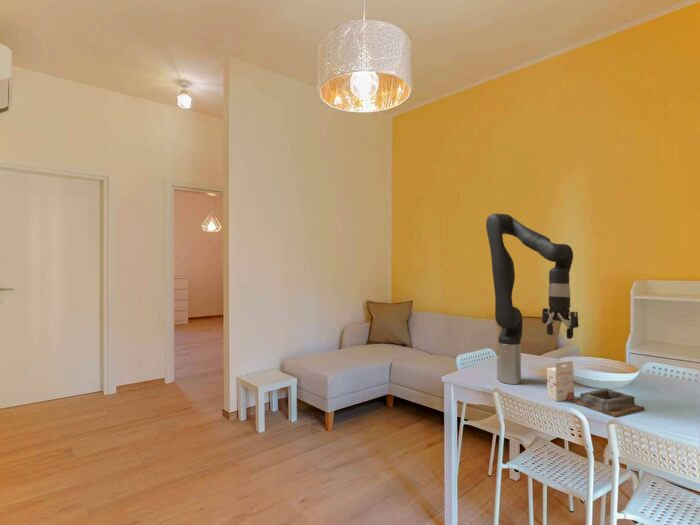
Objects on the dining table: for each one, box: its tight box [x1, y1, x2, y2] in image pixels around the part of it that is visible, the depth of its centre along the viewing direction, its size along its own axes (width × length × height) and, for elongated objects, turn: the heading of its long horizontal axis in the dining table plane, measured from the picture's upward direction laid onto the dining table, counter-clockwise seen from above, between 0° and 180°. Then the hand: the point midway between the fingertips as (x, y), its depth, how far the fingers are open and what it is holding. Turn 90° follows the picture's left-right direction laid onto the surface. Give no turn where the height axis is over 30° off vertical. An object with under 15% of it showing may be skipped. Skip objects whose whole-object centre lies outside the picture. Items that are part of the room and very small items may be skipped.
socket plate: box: [571, 388, 645, 418], centre depth 145 cm, size 16×16×4 cm
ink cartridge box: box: [546, 360, 575, 402], centre depth 154 cm, size 9×5×15 cm, turn 105°
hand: (559, 336), depth 155 cm, fingers open, 8 cm apart
